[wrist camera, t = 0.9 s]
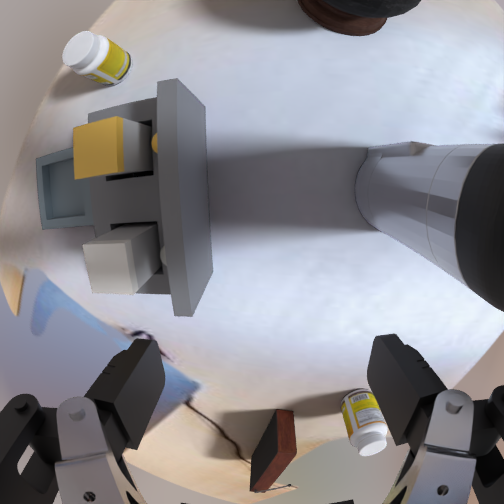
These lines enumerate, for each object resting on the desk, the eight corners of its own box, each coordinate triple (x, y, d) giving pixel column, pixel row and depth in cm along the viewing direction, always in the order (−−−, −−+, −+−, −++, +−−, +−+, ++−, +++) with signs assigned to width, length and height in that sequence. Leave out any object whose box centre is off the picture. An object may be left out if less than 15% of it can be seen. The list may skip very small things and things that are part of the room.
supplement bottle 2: (353, 414, 37) (367, 461, 28) (332, 403, 37) (344, 455, 27) (379, 394, 36) (399, 441, 26) (360, 382, 35) (379, 433, 25)
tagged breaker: (121, 135, 23) (73, 128, 16) (157, 128, 23) (116, 116, 15) (122, 174, 24) (74, 179, 17) (158, 169, 24) (117, 172, 17)
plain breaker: (126, 223, 26) (82, 244, 18) (162, 221, 26) (124, 243, 18) (131, 261, 27) (92, 292, 19) (166, 260, 27) (133, 295, 19)
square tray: (45, 158, 27) (36, 158, 25) (97, 144, 27) (88, 143, 25) (51, 226, 30) (42, 229, 28) (103, 221, 30) (94, 225, 28)
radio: (266, 458, 42) (266, 522, 28) (251, 456, 42) (247, 520, 28) (299, 402, 37) (309, 486, 22) (280, 399, 36) (284, 485, 22)
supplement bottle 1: (130, 45, 23) (95, 19, 15) (136, 75, 24) (99, 52, 16) (97, 63, 24) (58, 44, 16) (102, 93, 25) (60, 78, 17)
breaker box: (116, 120, 26) (63, 108, 16) (205, 106, 26) (177, 78, 16) (129, 271, 31) (86, 309, 22) (213, 271, 31) (192, 316, 21)
